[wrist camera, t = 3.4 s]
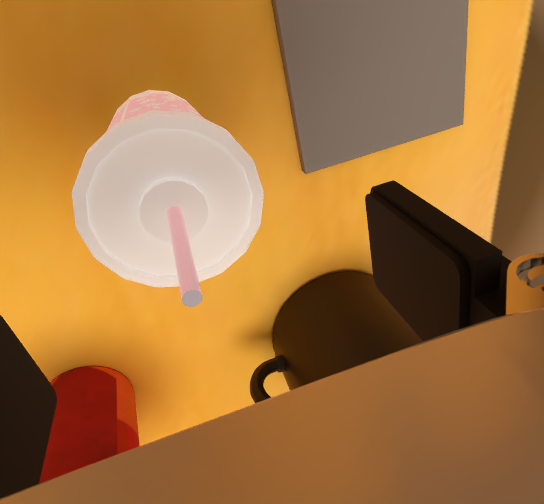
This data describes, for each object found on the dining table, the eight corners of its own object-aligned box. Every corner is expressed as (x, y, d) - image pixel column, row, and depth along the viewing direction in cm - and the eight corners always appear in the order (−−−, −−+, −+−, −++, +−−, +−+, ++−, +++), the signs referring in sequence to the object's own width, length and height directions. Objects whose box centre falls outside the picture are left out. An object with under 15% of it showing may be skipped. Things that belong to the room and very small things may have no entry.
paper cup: (-2, 414, 27) (-104, 727, 15) (72, 334, 26) (22, 610, 14) (106, 449, 31) (90, 717, 19) (174, 381, 30) (202, 626, 18)
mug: (233, 284, 27) (272, 392, 19) (400, 260, 30) (491, 346, 22) (236, 389, 32) (268, 508, 24) (381, 359, 35) (450, 458, 27)
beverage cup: (144, 215, 23) (157, 429, 12) (64, 115, 20) (-32, 277, 8) (240, 156, 23) (351, 313, 11) (176, 46, 20) (242, 109, 8)
